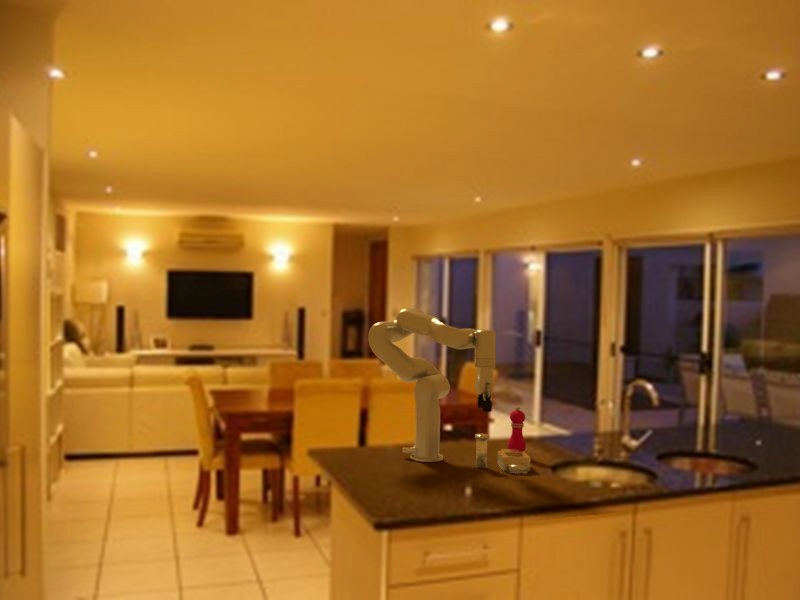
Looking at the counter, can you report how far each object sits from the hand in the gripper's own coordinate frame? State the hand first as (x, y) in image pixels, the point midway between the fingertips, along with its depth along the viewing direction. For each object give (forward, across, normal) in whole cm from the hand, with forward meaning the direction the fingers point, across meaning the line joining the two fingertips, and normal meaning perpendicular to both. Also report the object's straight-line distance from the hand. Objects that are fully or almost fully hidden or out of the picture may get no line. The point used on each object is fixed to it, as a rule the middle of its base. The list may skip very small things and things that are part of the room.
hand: (484, 409), depth 253 cm
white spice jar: (+21, 0, -1) cm, 21 cm away
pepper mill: (+22, -17, +16) cm, 32 cm away
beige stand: (+21, +1, +11) cm, 24 cm away
